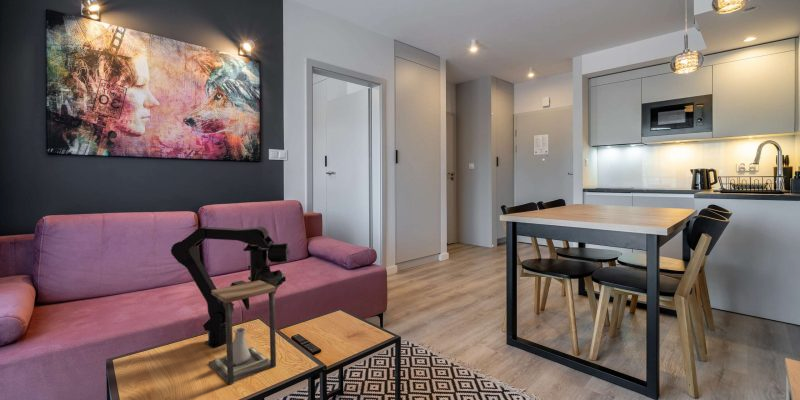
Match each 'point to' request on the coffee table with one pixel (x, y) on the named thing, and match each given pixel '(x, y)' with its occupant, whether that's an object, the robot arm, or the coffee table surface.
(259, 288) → the wooden top side table
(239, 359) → the flask
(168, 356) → the coffee table surface
